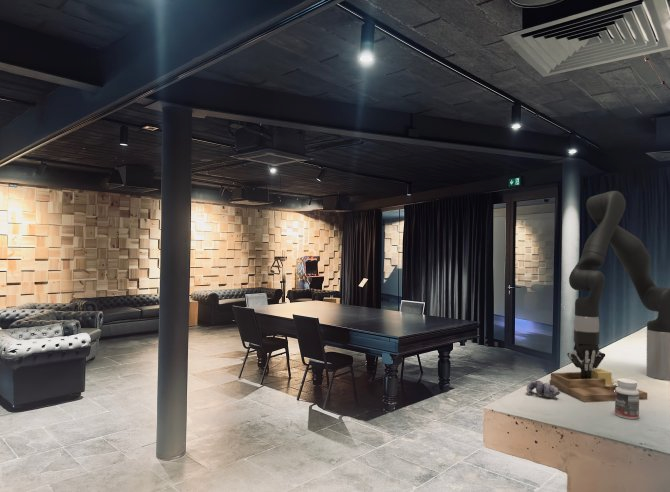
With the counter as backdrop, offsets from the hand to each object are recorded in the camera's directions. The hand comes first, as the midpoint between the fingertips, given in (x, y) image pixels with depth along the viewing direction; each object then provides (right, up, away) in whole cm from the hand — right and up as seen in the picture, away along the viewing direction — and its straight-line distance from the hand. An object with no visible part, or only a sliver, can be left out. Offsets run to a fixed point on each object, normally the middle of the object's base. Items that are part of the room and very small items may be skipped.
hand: (585, 380), depth 153 cm
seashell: (-18, -3, -8) cm, 20 cm away
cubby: (-3, -1, -1) cm, 3 cm away
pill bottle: (-2, -3, -25) cm, 25 cm away
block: (+5, -1, +1) cm, 5 cm away
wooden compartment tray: (+2, -3, -3) cm, 5 cm away
